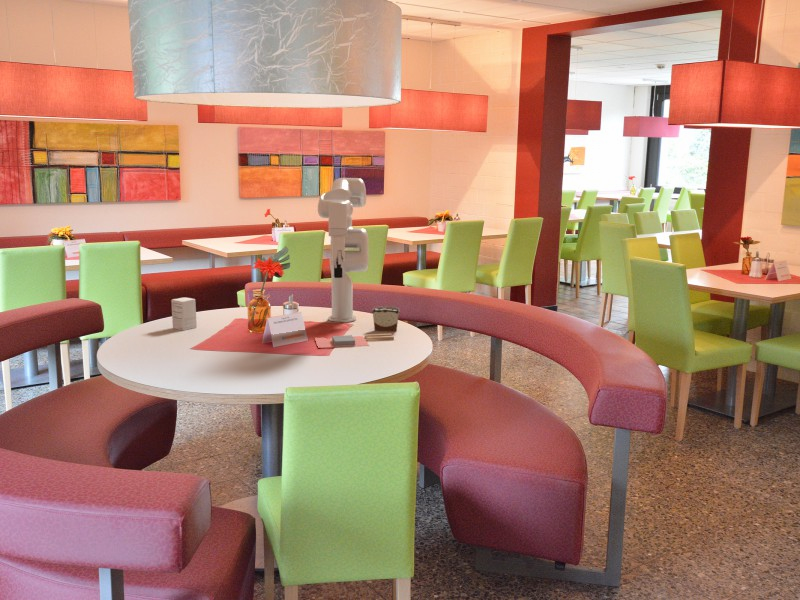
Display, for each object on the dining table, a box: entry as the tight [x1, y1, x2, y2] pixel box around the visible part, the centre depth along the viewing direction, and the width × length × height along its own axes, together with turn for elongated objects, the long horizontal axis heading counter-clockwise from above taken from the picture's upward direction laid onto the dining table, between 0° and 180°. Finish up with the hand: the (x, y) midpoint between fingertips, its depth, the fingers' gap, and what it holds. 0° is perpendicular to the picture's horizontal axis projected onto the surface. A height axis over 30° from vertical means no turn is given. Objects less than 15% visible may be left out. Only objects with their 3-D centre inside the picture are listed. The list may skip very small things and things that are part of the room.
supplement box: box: [170, 296, 197, 331], centre depth 330 cm, size 7×7×13 cm
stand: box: [364, 333, 395, 342], centre depth 314 cm, size 6×11×2 cm, turn 102°
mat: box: [314, 335, 370, 349], centre depth 308 cm, size 16×20×1 cm
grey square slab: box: [331, 334, 355, 347], centre depth 305 cm, size 2×9×8 cm
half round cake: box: [371, 305, 401, 332], centre depth 330 cm, size 12×6×10 cm, turn 84°
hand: (338, 277), depth 312 cm, fingers closed
